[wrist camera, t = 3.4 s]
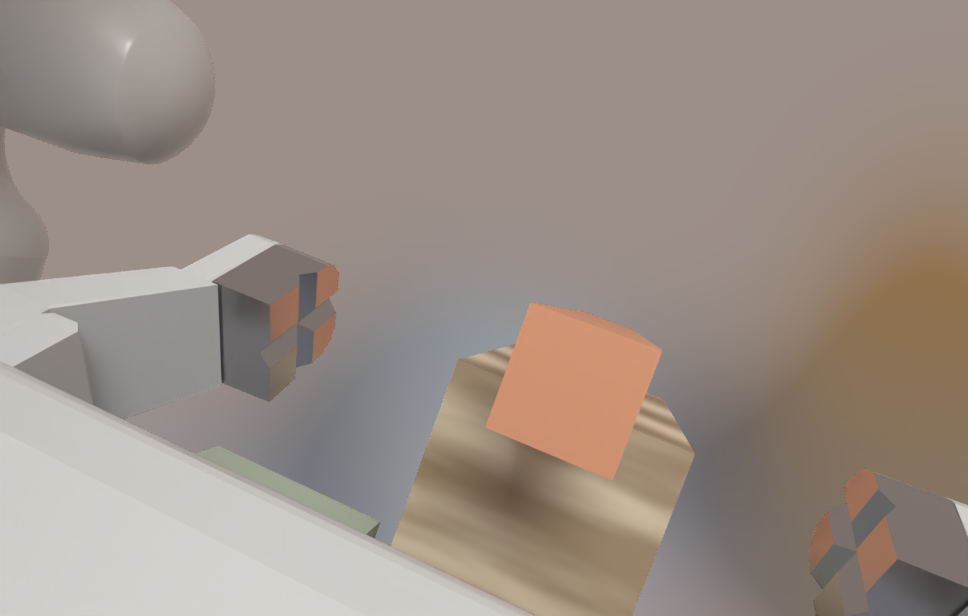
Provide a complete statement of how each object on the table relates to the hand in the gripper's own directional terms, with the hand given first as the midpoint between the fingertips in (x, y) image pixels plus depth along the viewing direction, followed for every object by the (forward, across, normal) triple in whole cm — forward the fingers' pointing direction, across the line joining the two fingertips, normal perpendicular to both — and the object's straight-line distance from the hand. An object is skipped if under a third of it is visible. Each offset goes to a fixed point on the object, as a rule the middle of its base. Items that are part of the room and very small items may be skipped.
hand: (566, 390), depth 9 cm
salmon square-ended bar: (+16, 0, -12) cm, 20 cm away
